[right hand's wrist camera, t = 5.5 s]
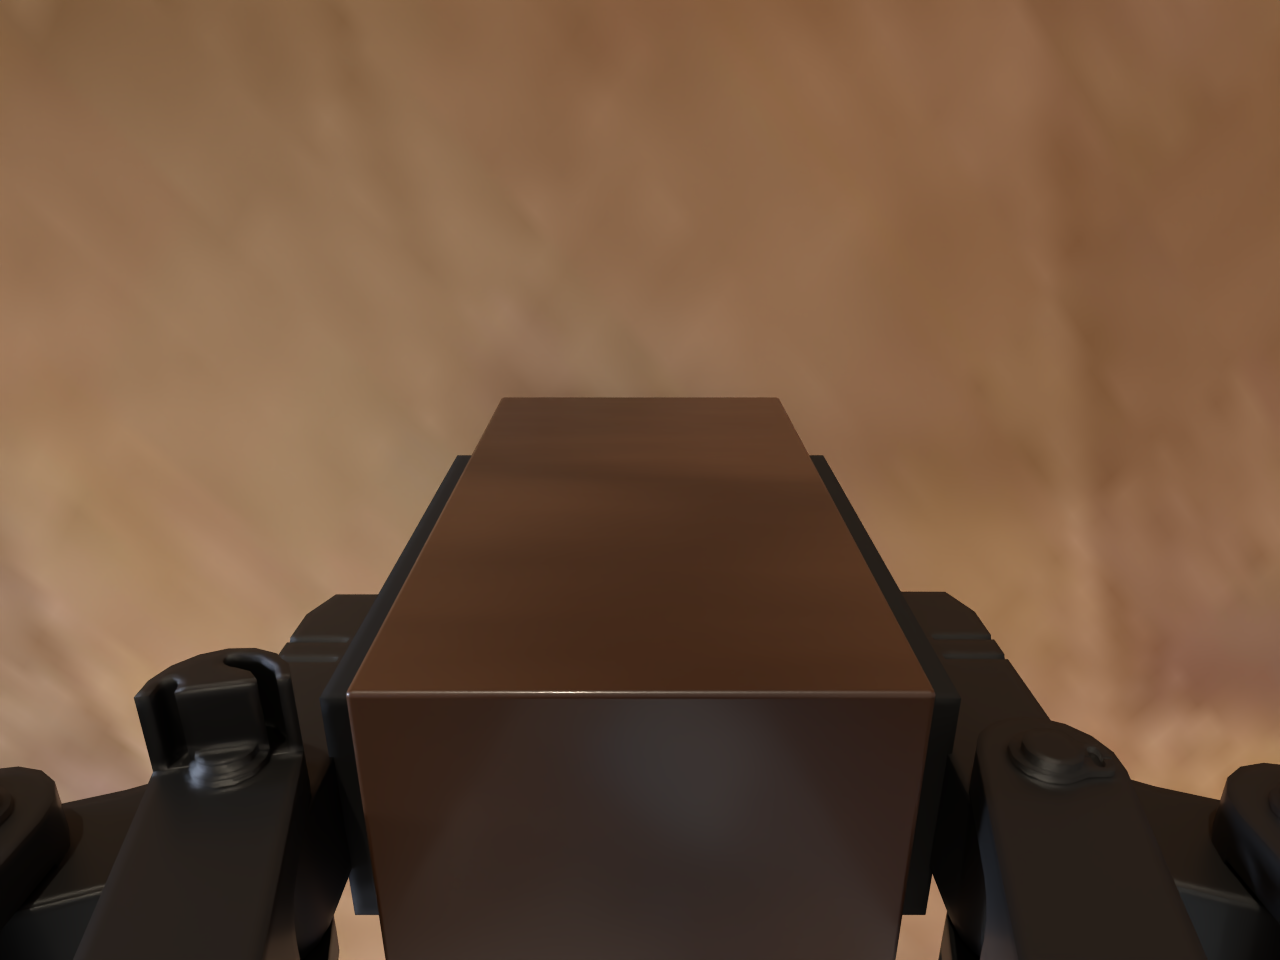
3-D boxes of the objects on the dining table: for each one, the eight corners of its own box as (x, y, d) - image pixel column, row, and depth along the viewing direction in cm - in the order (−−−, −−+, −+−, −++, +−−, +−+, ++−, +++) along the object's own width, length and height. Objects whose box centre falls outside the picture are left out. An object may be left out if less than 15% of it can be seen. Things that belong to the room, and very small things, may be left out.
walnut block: (515, 636, 16) (403, 1091, 8) (500, 396, 14) (343, 693, 6) (764, 636, 16) (878, 1091, 8) (779, 397, 14) (938, 693, 6)
